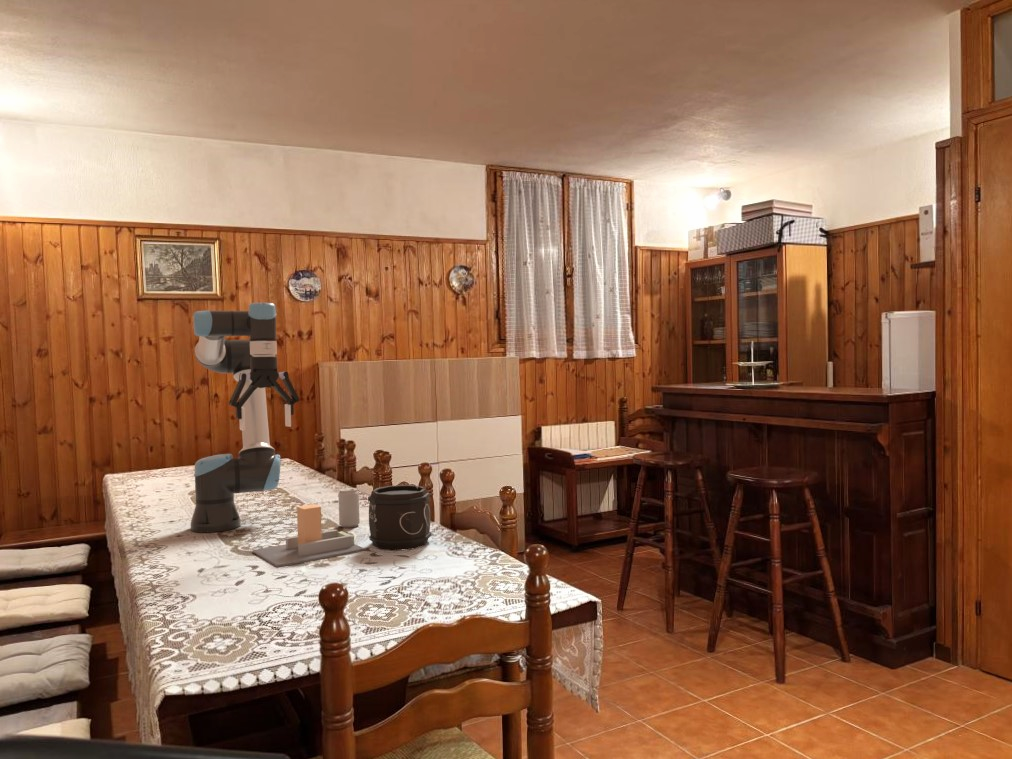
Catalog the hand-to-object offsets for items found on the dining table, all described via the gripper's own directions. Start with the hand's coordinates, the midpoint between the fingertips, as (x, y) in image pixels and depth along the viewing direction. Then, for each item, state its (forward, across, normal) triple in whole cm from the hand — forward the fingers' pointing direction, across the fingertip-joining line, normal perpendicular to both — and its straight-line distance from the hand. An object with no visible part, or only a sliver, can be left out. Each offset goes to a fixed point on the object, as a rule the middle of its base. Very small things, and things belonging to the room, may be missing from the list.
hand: (265, 428), depth 222 cm
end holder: (+33, +5, -18) cm, 38 cm away
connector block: (+33, +5, -18) cm, 38 cm away
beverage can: (+34, +28, +3) cm, 44 cm away
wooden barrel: (+34, +29, -28) cm, 52 cm away
